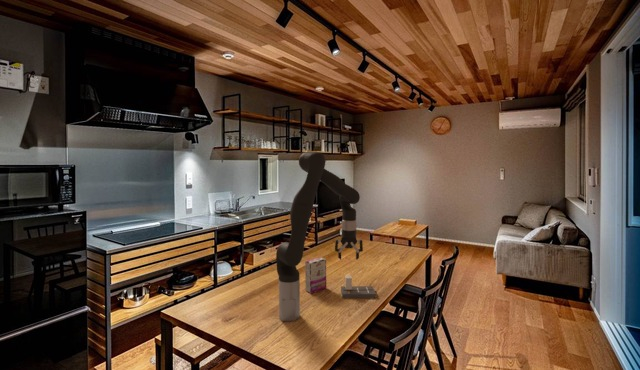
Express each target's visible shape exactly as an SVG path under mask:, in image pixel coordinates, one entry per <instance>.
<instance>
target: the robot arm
mask: <svg viewBox="0 0 640 370" xmlns="http://www.w3.org/2000/svg"><path fill="white" fill-rule="evenodd" d="M298 165H299V167H300V169H301V170H302V171H303V172H306V173H307V175H306V178H305V181H304V183H303V184H302V186H301V187H300V188H299V190H298V191H297V192H296V194H295V195H294V197H293V200H292V205H291V208H290V213H289V215H290V218H289V219H290V227H291V234H290V237H289V240H288V241H289V242H288V241H285V242H282V243H281V244H279V246H278V247H277V248H276V254H275V257H276V258H275V259H276V260H275V261H276V272H277V276H278V317H279V319H280V320H281V322H296V321H297V320H298V319H299V318H300V315H301V314H300V313H301V308H300V307H301V306H300V304H301V303H300V297H301V296H300V291H301V290H300V289H301V288H300V284H301V283H300V282H301V281H300V271H299V270H298V269H297V266H298V265H299V264H300V263H301V262H302V259H303V255H304V249H305V243H306V237H307V236H306V235H307V232H308V229H309V228H308V227H309V223H310V219H311V216H312V212H313V208H314V203H315V199H316V196H317V195H316V194H317V191H318V189H319V184H320V182H321V183H322V184H324V185H325V186H326V187H327V188H328V189H330V191H332V192H333V193H334V194H335V195H337V196H339V197H338V198H339V204H340V209H341V212H342V214H341V215H342V216H341V217H342V218H341V219H342V220H341V239H338V238H336V239H335V241H334V243H335V244H334V251H335V252H337V254H338V255H337V257H338V259H339V260H342V251H344V250H345V249H354V250H355V251H356V252H355V260H357V261H358V259H360V253H362V252H363V248H364V247H363V245H364V244H363V240H362V239H361V238H360V239H357V210H356V209H355V207H354V208H353V207H352V205H355V204H358V203H359V202H360V199H361V198H360V197H361V195H360V193H359V192H358V190H357V189H356V188H354V187H352V186H350V185H349V184H346V182H345V181H343V180H342V178H340V177H339V176H338V175H337V174H334V173H333V172H331V171H329V170H327V169H326V168H325V167H326V158H325V155H324V154H323V153H322V152H319V151H317V152H316V151H307V152H303V153H302V154H301V155H299V159H298ZM340 243H341V245H340V247H339V244H340ZM357 243H358V244H359V248H358V247H357V246H356V244H357Z"/></svg>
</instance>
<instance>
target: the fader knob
mask: <svg viewBox="0 0 640 370" xmlns="http://www.w3.org/2000/svg"><path fill="white" fill-rule="evenodd" d="M344 277H345V279H344V284H345V285H344V286H345V288H346V289H347V290H350V289H352V285H353V283H352V282H353V280H352V279H353V277H352V275H350V274H348V275H347V274H346V275H345V276H344Z"/></svg>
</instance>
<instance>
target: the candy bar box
mask: <svg viewBox="0 0 640 370" xmlns="http://www.w3.org/2000/svg"><path fill="white" fill-rule="evenodd" d="M304 265H305V266H304V271H305V272H304V276H305V278H304V279H305V291H306V292H307V293H309V294H313V293H316V292H319V291H322V290H324V289H327V259H326V258H324V257H322V256H321V257H317V258H313V259H309V260H306V261H304Z"/></svg>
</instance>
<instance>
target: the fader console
mask: <svg viewBox="0 0 640 370" xmlns="http://www.w3.org/2000/svg"><path fill="white" fill-rule="evenodd" d="M340 292H341V293H340V294H341V297H342V299H361V298H362V299H363V298H364V299H370V298H371V299H372V298H373V299H374V298H375V299H376V297H377V293H376V291H375V288H374V287H373V286H372V285H371V286H370V285H368V286H367V285H365V286H361V285H360V286H359V285H358V286H357V285H356V286H355V285H353V286H352V289H350V290H347V289H346V288H345V285H343V286H340Z"/></svg>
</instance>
